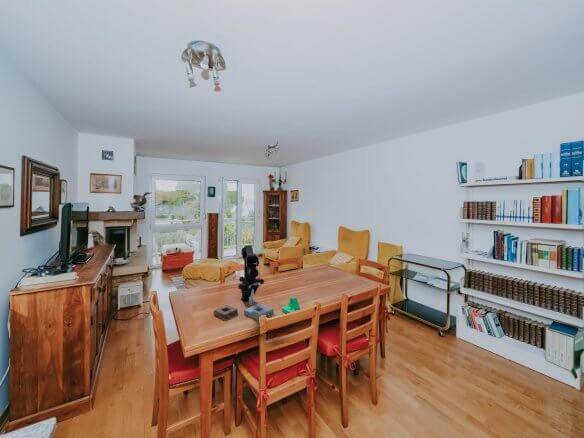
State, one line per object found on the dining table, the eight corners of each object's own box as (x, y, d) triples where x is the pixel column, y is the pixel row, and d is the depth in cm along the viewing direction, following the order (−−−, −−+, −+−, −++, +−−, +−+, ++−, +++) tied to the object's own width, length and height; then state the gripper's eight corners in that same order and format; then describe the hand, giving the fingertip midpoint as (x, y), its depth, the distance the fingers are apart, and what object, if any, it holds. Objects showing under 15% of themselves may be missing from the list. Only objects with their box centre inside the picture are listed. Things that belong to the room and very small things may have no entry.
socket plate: (258, 307, 179) (258, 303, 179) (273, 312, 171) (273, 308, 170) (243, 314, 167) (244, 310, 167) (259, 320, 159) (259, 315, 159)
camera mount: (281, 311, 174) (281, 297, 173) (289, 308, 179) (289, 294, 178) (292, 317, 165) (293, 302, 164) (300, 314, 170) (301, 299, 169)
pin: (251, 302, 170) (251, 287, 170) (254, 303, 168) (254, 289, 168) (247, 303, 168) (248, 289, 167) (251, 305, 166) (251, 290, 165)
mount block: (226, 309, 175) (226, 304, 175) (237, 313, 169) (237, 309, 168) (213, 314, 166) (213, 310, 166) (224, 319, 160) (224, 314, 160)
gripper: (253, 268, 179) (253, 289, 180) (232, 274, 164) (232, 297, 165) (264, 271, 172) (264, 293, 173) (244, 277, 157) (244, 301, 158)
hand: (251, 296), depth 168 cm, fingers closed on pin, 3 cm apart
